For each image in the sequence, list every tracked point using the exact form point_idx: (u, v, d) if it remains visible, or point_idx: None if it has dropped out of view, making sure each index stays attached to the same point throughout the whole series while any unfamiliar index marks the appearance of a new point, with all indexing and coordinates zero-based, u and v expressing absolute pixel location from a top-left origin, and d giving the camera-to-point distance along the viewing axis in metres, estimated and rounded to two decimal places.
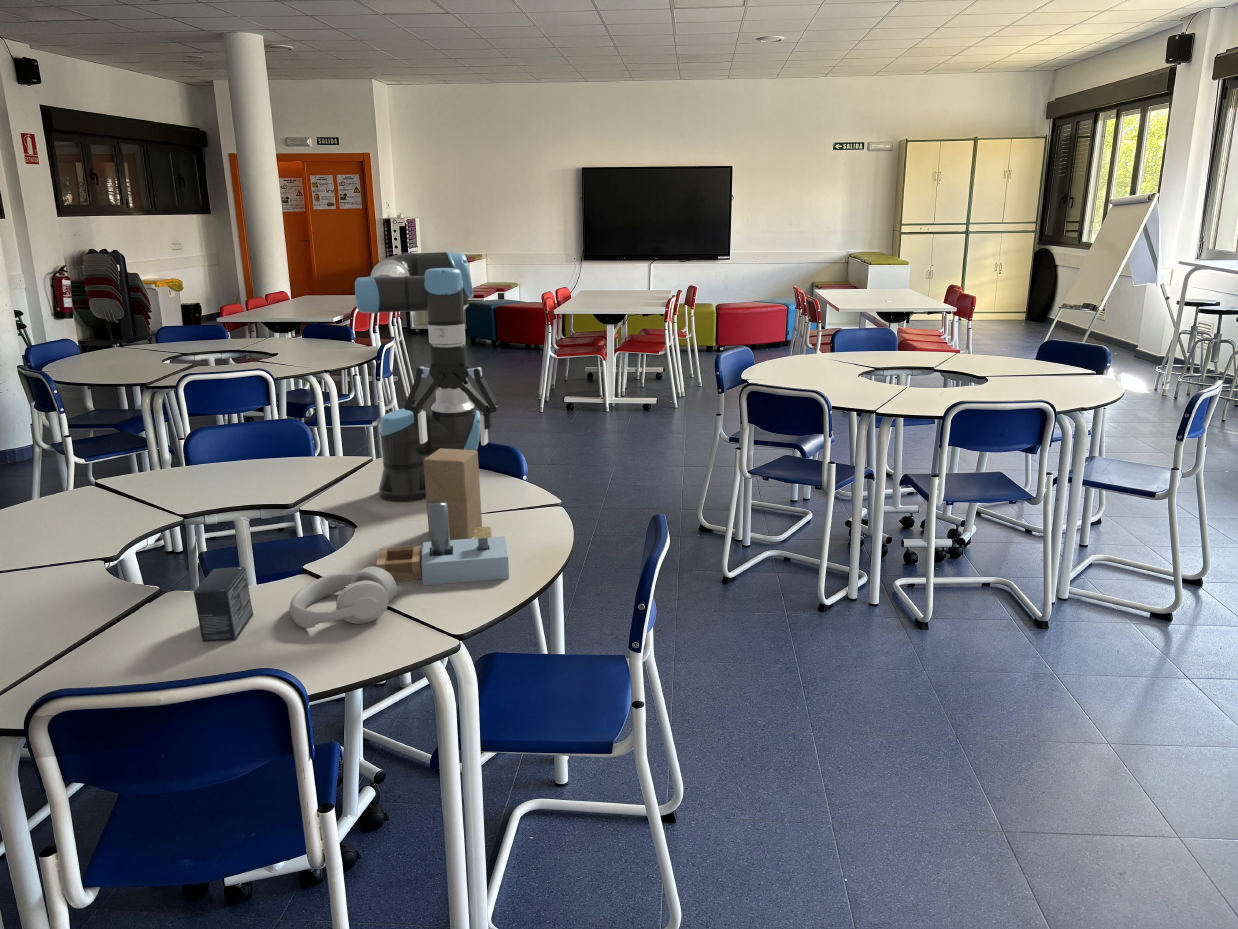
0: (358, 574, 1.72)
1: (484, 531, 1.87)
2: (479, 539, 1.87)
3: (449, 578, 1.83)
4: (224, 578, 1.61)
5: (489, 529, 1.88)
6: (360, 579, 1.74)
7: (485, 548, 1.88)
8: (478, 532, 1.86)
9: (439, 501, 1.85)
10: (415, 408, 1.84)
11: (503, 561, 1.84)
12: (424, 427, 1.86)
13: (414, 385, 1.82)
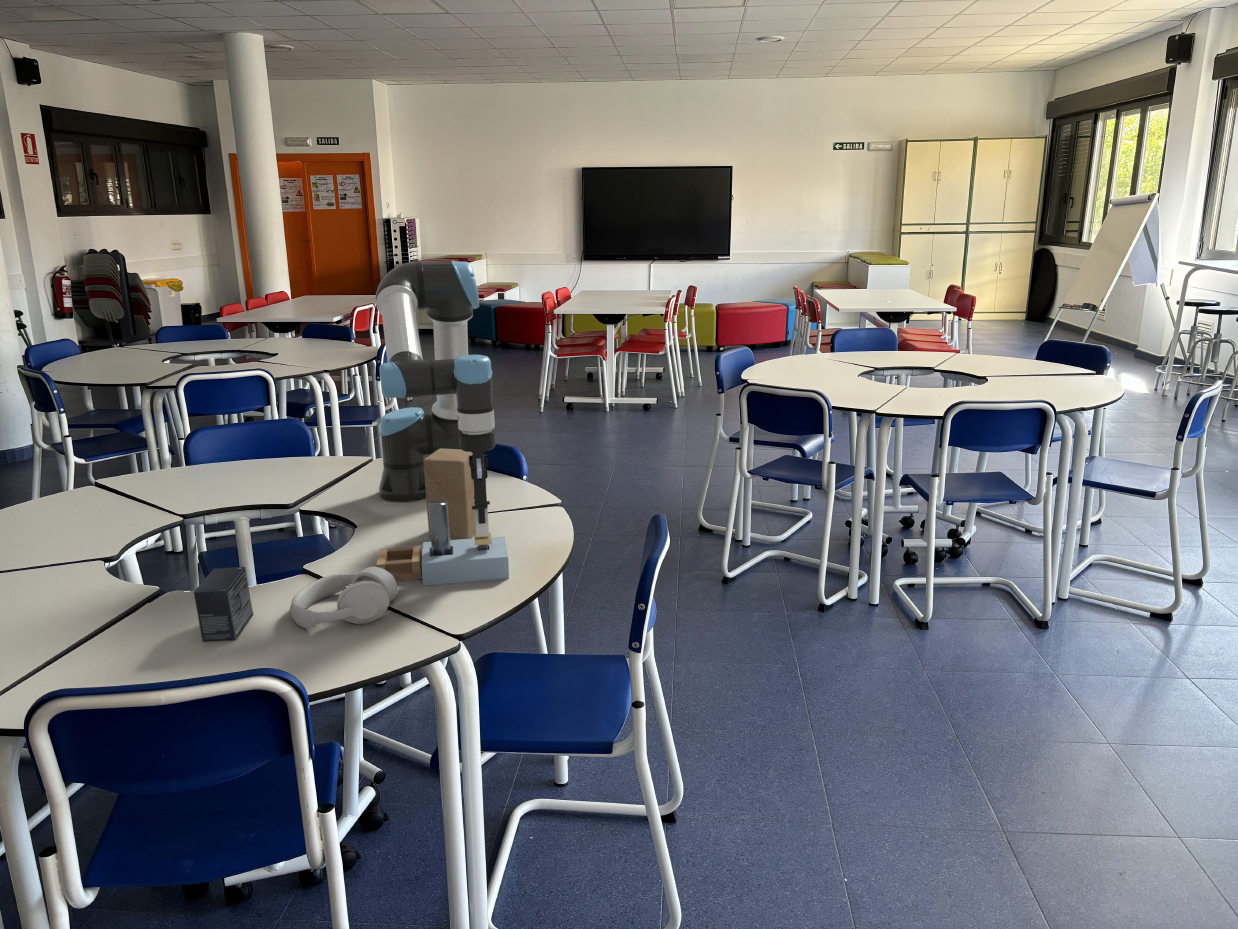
0: (359, 574, 1.72)
1: (484, 537, 1.87)
2: (479, 545, 1.87)
3: (449, 578, 1.83)
4: (224, 578, 1.61)
5: (489, 535, 1.88)
6: (361, 579, 1.74)
7: None
8: (478, 539, 1.86)
9: (439, 501, 1.85)
10: None
11: (503, 561, 1.84)
12: None
13: None
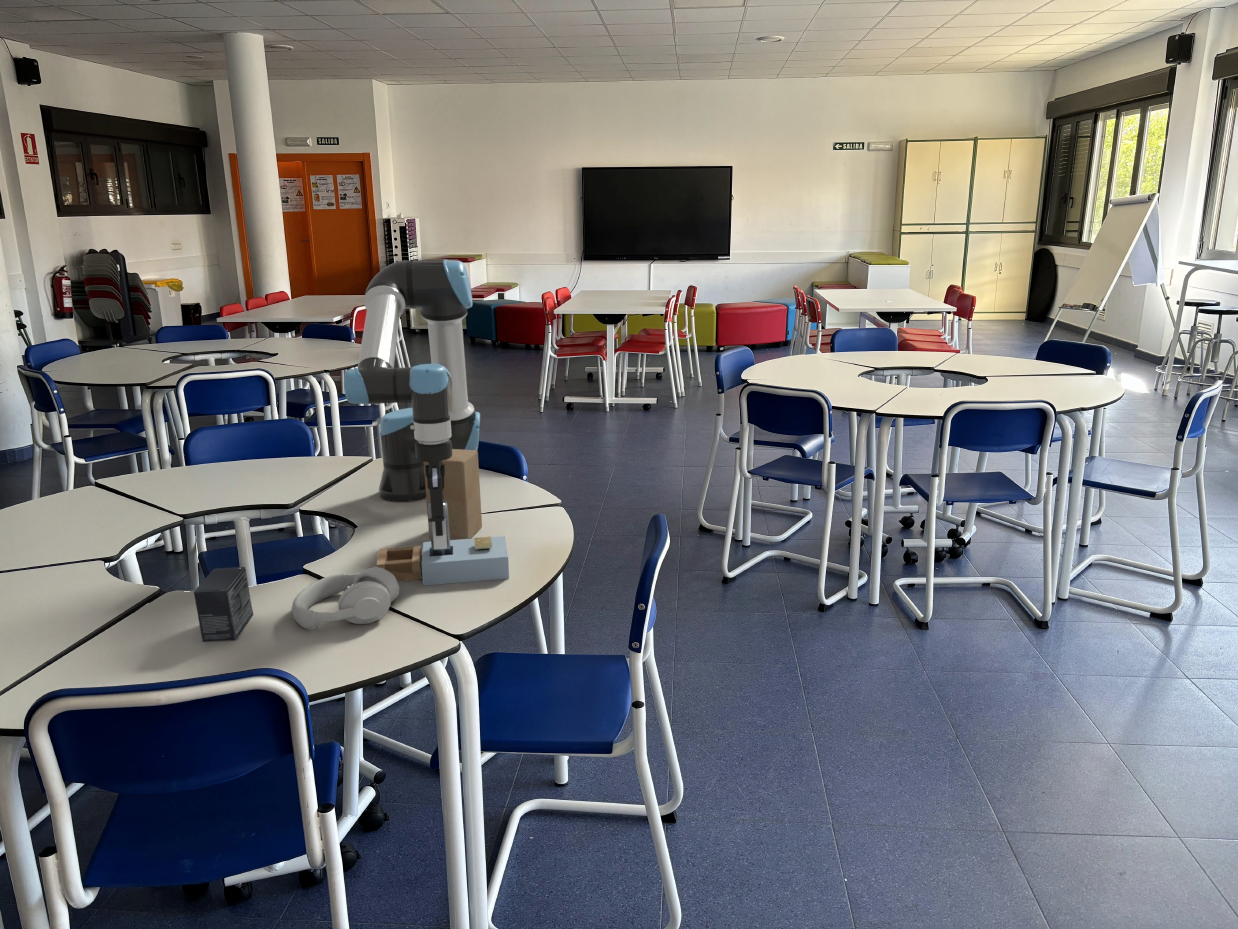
0: (360, 574, 1.71)
1: (484, 541, 1.87)
2: (480, 549, 1.88)
3: (449, 578, 1.83)
4: (224, 578, 1.61)
5: (489, 539, 1.88)
6: (363, 579, 1.74)
7: None
8: (479, 542, 1.87)
9: None
10: None
11: (503, 561, 1.84)
12: None
13: None
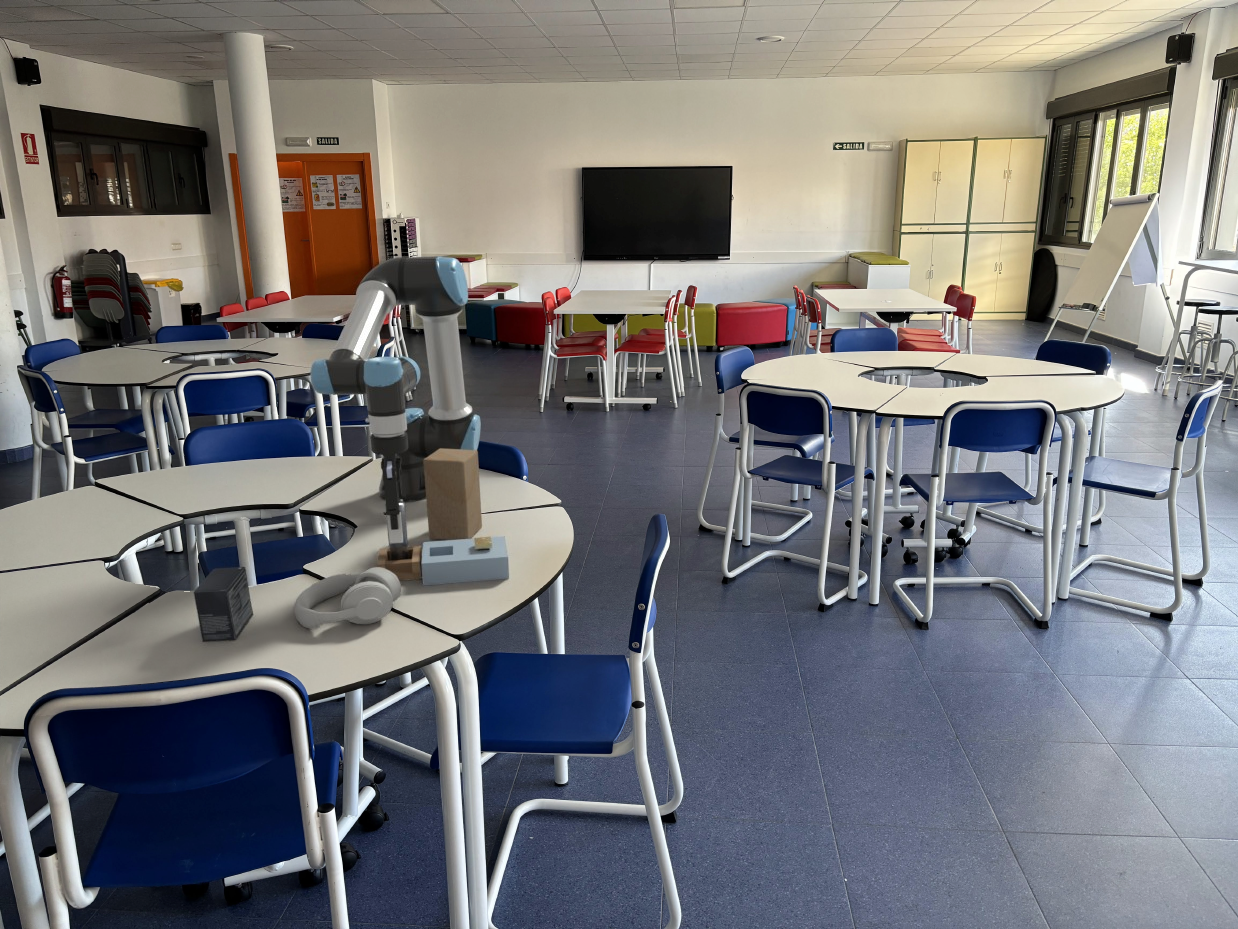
0: (363, 575, 1.71)
1: (484, 541, 1.87)
2: (480, 549, 1.88)
3: (449, 578, 1.83)
4: (224, 578, 1.61)
5: (489, 539, 1.88)
6: (365, 580, 1.74)
7: None
8: (479, 542, 1.87)
9: None
10: None
11: (503, 561, 1.84)
12: None
13: None
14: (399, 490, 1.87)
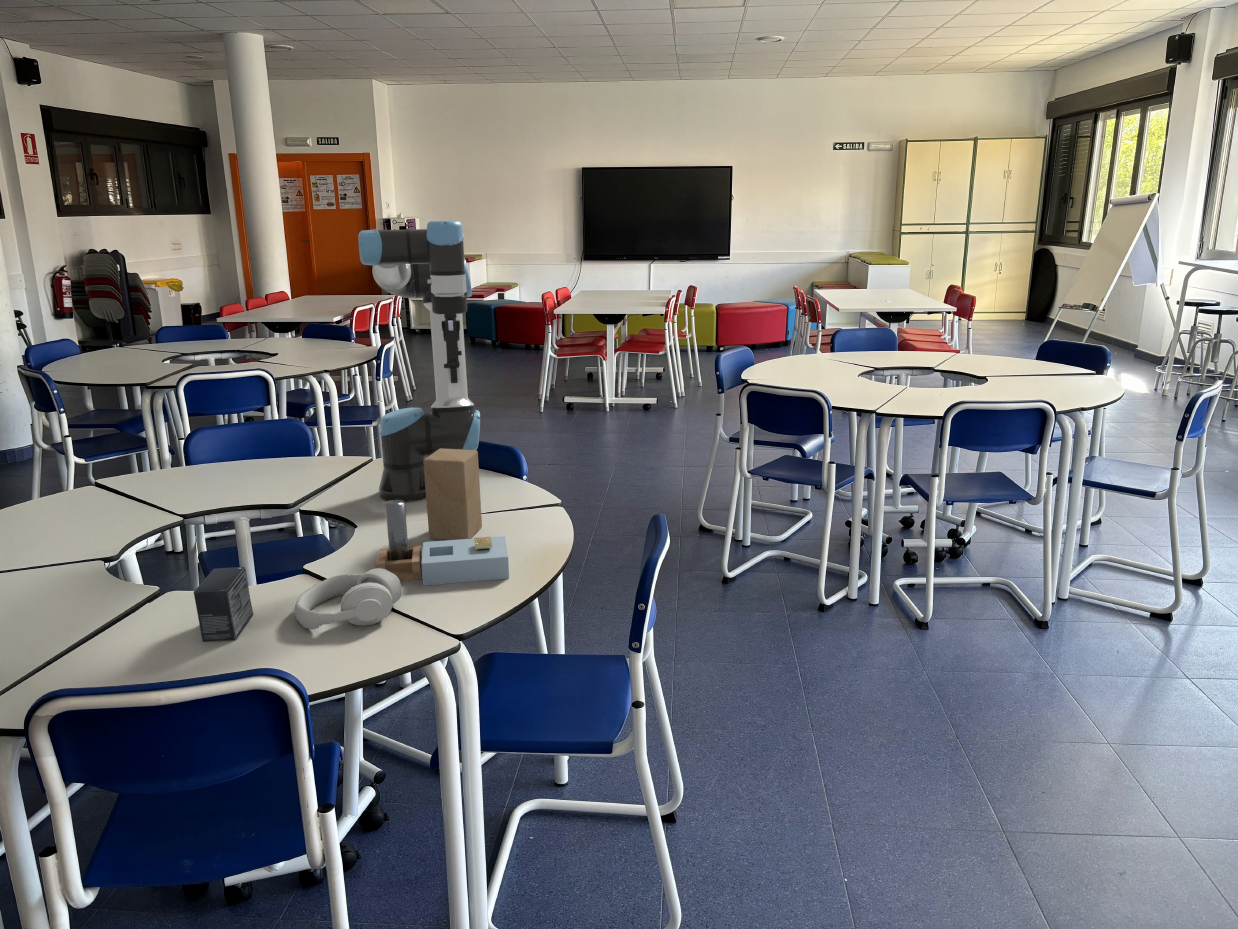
0: (364, 576, 1.71)
1: (484, 541, 1.87)
2: (480, 549, 1.88)
3: (449, 578, 1.83)
4: (224, 578, 1.61)
5: (489, 539, 1.88)
6: (366, 580, 1.73)
7: None
8: (479, 542, 1.87)
9: (396, 501, 1.85)
10: None
11: (503, 561, 1.84)
12: None
13: None
14: None
